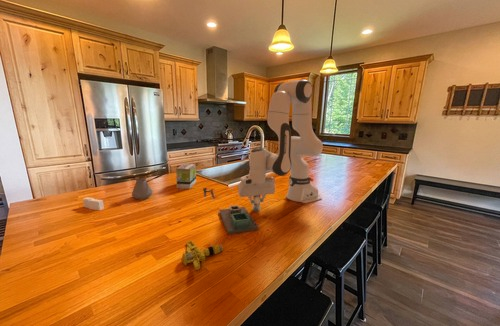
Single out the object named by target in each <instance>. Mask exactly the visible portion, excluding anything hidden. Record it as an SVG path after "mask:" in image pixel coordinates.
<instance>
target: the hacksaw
mask: <svg viewBox="0 0 500 326" xmlns="http://www.w3.org/2000/svg"><path fill="white" fill-rule="evenodd" d="M214 191H215V189H214V188H211V189H210V190H208V188H207V187H204V188H203V196H204V198H205V197H207V193H209V192H210V193H211V194H210V195H211V196H212V198H210V199H209V200H212V199H213V200H218V198H217V197H216V196H214Z"/></svg>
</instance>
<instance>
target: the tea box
mask: <svg viewBox="0 0 500 326" xmlns="http://www.w3.org/2000/svg"><path fill="white" fill-rule="evenodd" d="M175 171H176V189H180V190H181V189H182V190H185V189H187V190H188V189H189V190H190V189H191V188H192V187H194V185H196V183H197V165H196V164H194V163H193V164H192V163H190V164H188V163H183V164H181V165H179V166H178V167H176V169H175Z"/></svg>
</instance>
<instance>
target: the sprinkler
mask: <svg viewBox="0 0 500 326" xmlns="http://www.w3.org/2000/svg"><path fill="white" fill-rule="evenodd" d="M185 243H186V246H187V247H186V253H185V252H183V253H182V255H181V258H180V259H181V262H182V263H183V265H184V266H187V265H188V264H191V263H193V267H194V269H195V270H196V271H197V270H199V269H201V264H200V262H201V263H205V262H206V257H210V256H213V255H216V254H219V253H221V252H223V250H224V249H223V248H224V247H223V245H222V244H215V245H211V246H208V247H206V248H204V250H201V248H199V247H198V246H197V245H196V244H195V243H194V242H193V241H192V240H188V241H186V242H185Z"/></svg>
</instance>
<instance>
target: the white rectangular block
mask: <svg viewBox="0 0 500 326" xmlns="http://www.w3.org/2000/svg"><path fill="white" fill-rule="evenodd" d="M82 202H83V208H87V209H89V210H95V211H102V210H104V209H105V208H104V199H96V198H94V197H88V196H87V197H84V198H82Z"/></svg>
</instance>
